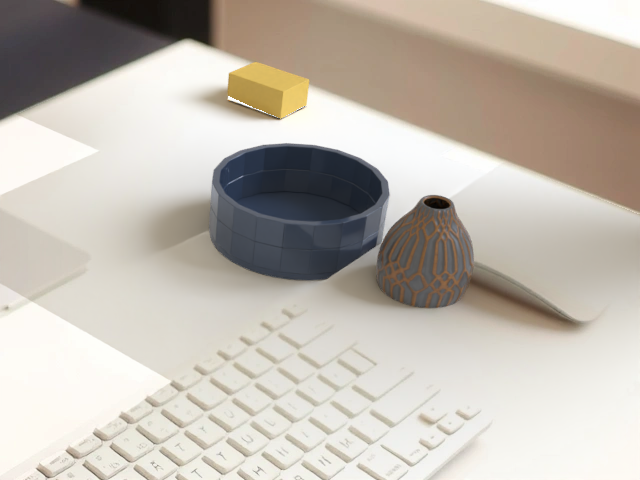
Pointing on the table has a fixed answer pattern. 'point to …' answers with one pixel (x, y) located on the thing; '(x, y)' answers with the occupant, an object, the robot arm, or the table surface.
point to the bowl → (296, 209)
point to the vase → (426, 256)
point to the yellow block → (268, 89)
